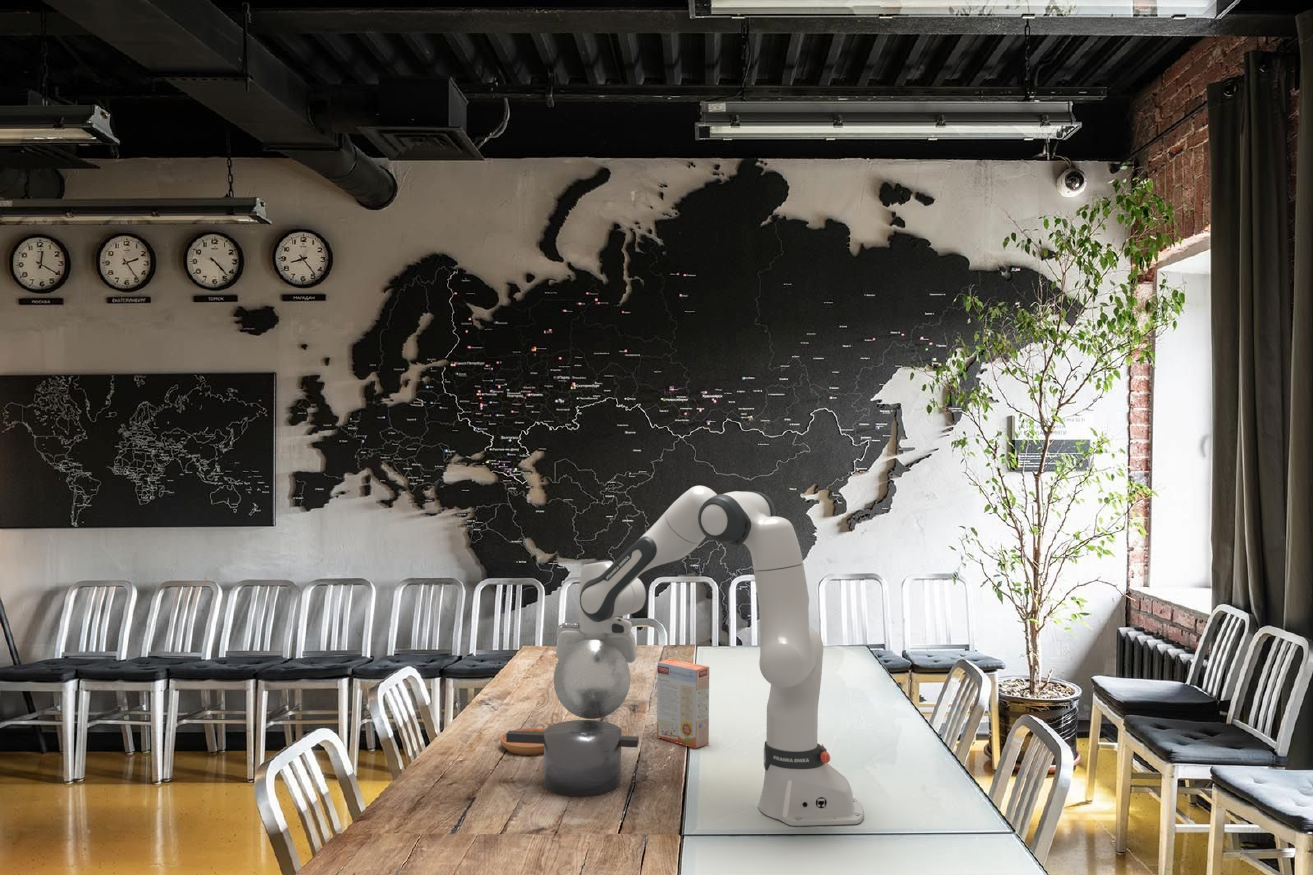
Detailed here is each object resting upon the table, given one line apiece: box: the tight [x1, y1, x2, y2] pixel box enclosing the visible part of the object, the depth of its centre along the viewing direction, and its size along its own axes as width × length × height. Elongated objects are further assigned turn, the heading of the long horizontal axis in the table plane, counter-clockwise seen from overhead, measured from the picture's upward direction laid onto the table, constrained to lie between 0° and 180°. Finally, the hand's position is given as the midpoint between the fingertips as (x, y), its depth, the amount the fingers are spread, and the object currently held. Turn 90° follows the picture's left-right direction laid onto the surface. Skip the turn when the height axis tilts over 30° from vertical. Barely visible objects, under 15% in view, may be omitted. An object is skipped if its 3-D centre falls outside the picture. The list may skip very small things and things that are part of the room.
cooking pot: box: [506, 719, 640, 798], centre depth 218 cm, size 31×18×12 cm, turn 84°
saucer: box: [499, 727, 546, 756], centre depth 244 cm, size 16×16×3 cm
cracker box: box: [656, 658, 710, 750], centre depth 250 cm, size 14×6×21 cm, turn 47°
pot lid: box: [553, 639, 631, 720], centre depth 231 cm, size 19×19×3 cm
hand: (596, 678), depth 235 cm, fingers closed
